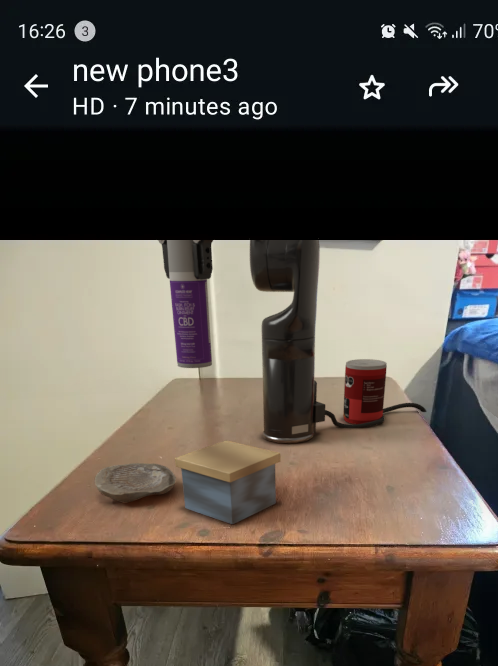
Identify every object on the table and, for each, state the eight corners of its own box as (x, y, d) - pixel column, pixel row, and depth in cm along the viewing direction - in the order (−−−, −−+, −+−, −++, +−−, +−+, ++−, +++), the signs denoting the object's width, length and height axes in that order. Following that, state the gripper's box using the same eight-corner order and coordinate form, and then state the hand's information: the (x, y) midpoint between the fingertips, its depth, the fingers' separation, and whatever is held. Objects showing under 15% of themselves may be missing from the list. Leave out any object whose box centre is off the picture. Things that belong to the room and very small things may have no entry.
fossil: (182, 505, 83) (181, 487, 82) (99, 513, 80) (97, 495, 79) (170, 476, 91) (169, 459, 90) (94, 482, 88) (91, 464, 87)
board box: (229, 487, 87) (226, 439, 83) (281, 503, 82) (280, 452, 78) (179, 508, 81) (174, 457, 77) (232, 527, 75) (229, 473, 71)
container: (179, 369, 76) (167, 234, 68) (175, 363, 80) (163, 235, 72) (214, 367, 77) (206, 233, 69) (209, 361, 81) (200, 234, 73)
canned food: (350, 413, 122) (353, 358, 116) (387, 417, 119) (392, 360, 113) (337, 422, 116) (339, 364, 111) (375, 427, 113) (380, 367, 108)
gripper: (245, 98, 63) (250, 278, 72) (158, 116, 71) (173, 276, 80) (194, 87, 58) (207, 281, 67) (107, 108, 66) (129, 279, 75)
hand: (188, 277), depth 73 cm, fingers closed on container, 4 cm apart
